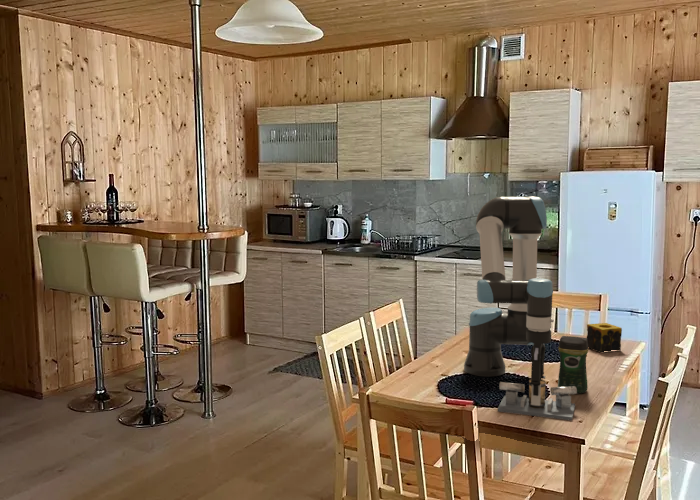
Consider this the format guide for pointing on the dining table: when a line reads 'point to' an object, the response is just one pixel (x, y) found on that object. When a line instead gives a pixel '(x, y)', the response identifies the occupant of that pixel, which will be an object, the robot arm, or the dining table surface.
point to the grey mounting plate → (537, 409)
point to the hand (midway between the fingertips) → (536, 401)
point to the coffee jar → (573, 363)
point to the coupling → (542, 402)
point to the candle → (604, 337)
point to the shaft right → (563, 396)
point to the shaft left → (511, 391)
